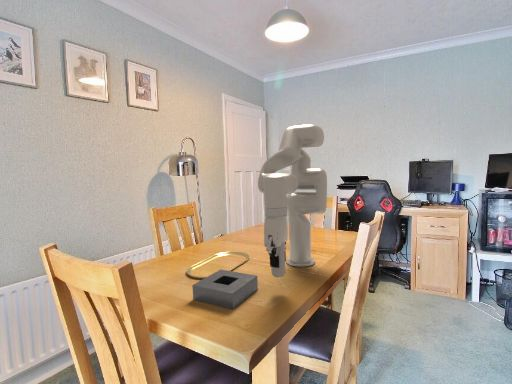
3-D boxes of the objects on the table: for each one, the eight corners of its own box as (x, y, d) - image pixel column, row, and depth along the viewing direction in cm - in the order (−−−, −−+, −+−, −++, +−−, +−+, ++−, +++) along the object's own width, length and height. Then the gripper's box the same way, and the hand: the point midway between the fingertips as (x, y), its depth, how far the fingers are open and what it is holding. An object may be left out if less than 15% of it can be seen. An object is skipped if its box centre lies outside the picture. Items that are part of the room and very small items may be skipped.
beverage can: (284, 271, 102) (283, 238, 100) (286, 277, 97) (285, 242, 96) (271, 272, 102) (269, 239, 100) (272, 278, 97) (270, 243, 95)
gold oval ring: (177, 276, 119) (177, 273, 119) (224, 253, 150) (224, 250, 150) (214, 283, 110) (214, 279, 110) (256, 256, 141) (256, 253, 141)
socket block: (221, 282, 110) (220, 269, 110) (257, 289, 103) (257, 275, 102) (193, 299, 96) (192, 285, 96) (233, 309, 89) (232, 293, 88)
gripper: (276, 207, 106) (278, 255, 108) (253, 216, 91) (256, 271, 93) (295, 208, 102) (297, 257, 104) (275, 217, 88) (277, 275, 90)
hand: (278, 263), depth 99 cm, fingers closed on beverage can, 4 cm apart
